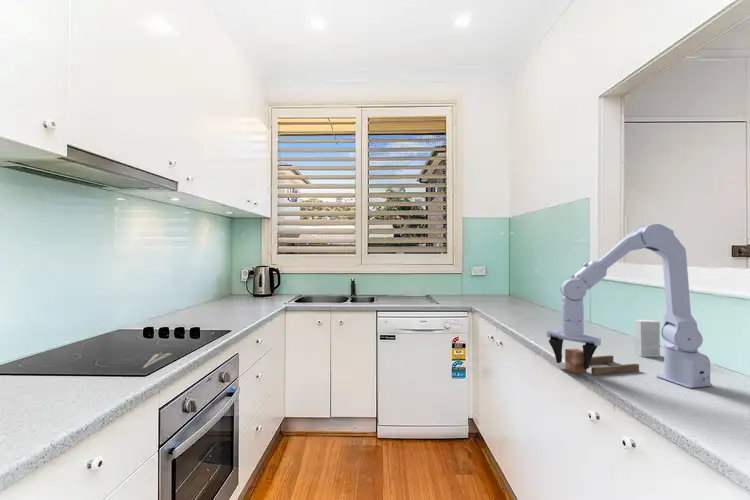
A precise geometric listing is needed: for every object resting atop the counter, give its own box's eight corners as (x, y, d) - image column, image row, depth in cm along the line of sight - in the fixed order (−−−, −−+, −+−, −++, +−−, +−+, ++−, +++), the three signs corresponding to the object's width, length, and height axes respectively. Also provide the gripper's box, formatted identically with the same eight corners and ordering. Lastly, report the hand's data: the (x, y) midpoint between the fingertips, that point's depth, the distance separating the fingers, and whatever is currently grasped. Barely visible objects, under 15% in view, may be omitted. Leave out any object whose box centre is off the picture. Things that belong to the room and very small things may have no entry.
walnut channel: (639, 371, 112) (639, 364, 112) (594, 375, 109) (594, 368, 109) (610, 361, 122) (610, 355, 122) (568, 364, 118) (568, 358, 118)
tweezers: (157, 356, 128) (157, 350, 128) (172, 356, 128) (171, 350, 128) (128, 377, 111) (128, 370, 111) (145, 377, 111) (145, 370, 111)
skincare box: (652, 354, 131) (652, 319, 131) (660, 357, 127) (660, 321, 127) (633, 353, 132) (633, 319, 132) (641, 357, 127) (641, 321, 127)
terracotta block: (586, 372, 112) (586, 352, 111) (575, 373, 111) (575, 352, 111) (576, 368, 115) (576, 348, 115) (565, 369, 114) (565, 349, 114)
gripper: (604, 321, 110) (604, 368, 110) (553, 315, 121) (553, 357, 121) (596, 324, 105) (595, 373, 105) (543, 317, 116) (543, 361, 116)
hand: (572, 365), depth 113 cm, fingers open, 7 cm apart
